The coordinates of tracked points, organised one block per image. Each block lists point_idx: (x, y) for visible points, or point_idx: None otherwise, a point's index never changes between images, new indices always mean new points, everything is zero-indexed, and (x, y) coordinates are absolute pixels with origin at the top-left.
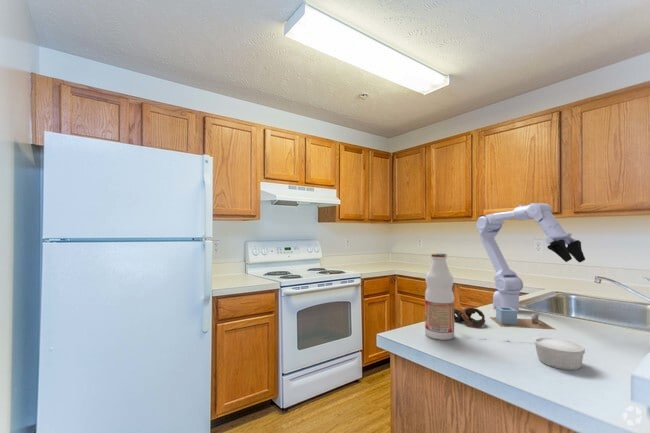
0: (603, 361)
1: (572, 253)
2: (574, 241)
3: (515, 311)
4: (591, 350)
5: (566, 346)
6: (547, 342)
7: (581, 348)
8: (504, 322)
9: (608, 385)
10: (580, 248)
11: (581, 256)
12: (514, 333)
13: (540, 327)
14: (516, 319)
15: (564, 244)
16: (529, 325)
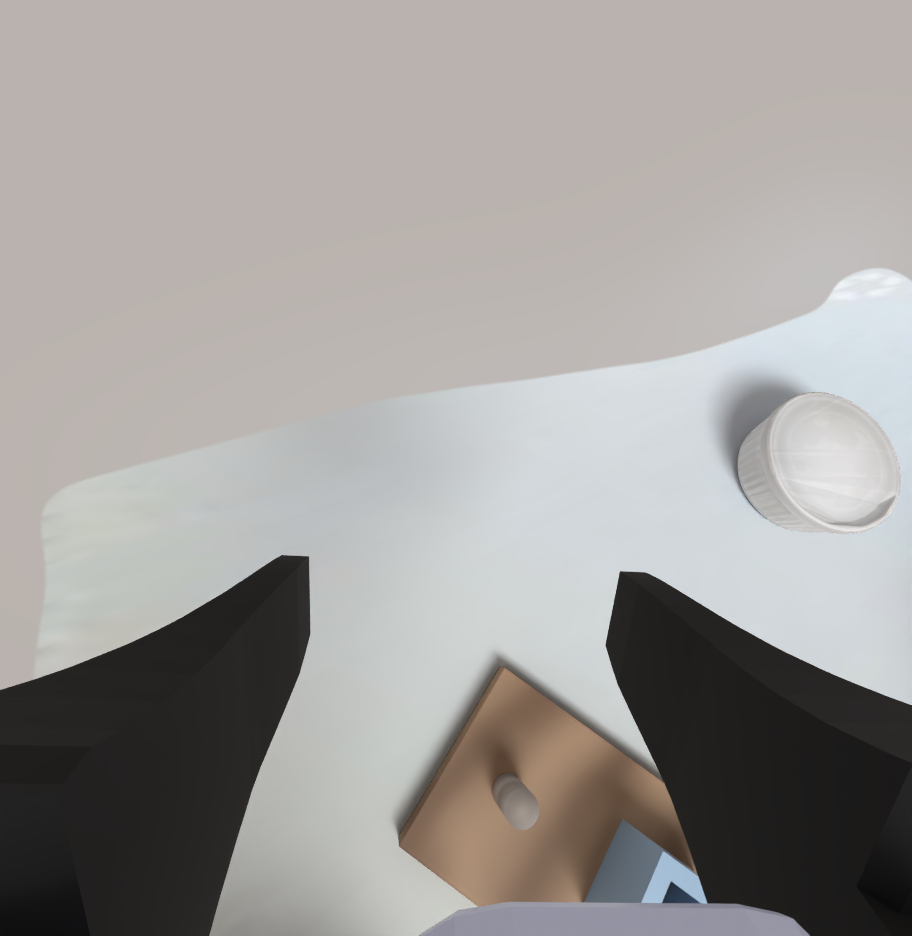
0: (642, 420)
1: (240, 789)
2: (77, 867)
3: (669, 855)
4: (575, 483)
5: (830, 434)
6: (859, 484)
7: (800, 402)
8: (684, 864)
9: (788, 351)
10: (162, 649)
11: (288, 598)
12: None
13: (548, 725)
14: (638, 832)
15: (825, 707)
16: (571, 777)
